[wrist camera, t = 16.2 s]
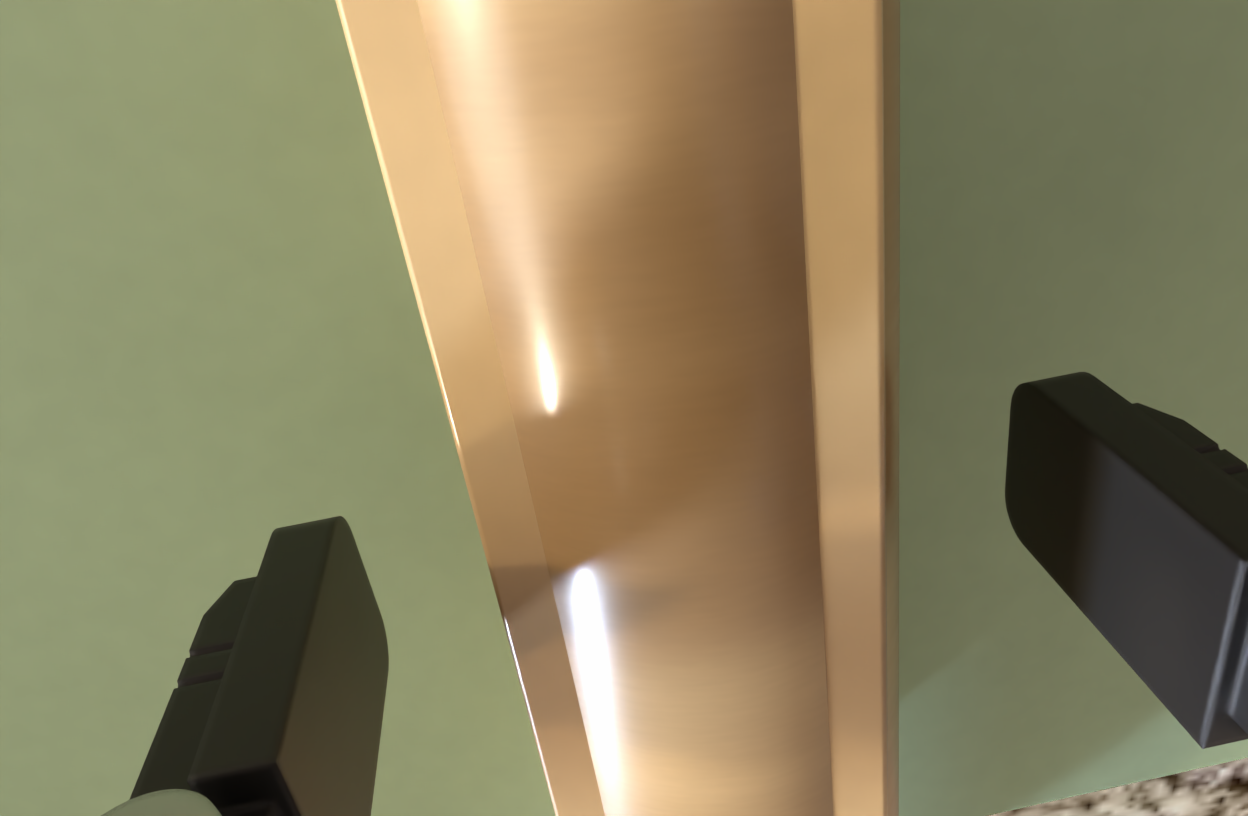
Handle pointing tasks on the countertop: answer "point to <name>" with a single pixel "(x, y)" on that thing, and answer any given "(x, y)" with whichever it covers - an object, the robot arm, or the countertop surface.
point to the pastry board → (416, 415)
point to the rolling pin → (667, 374)
